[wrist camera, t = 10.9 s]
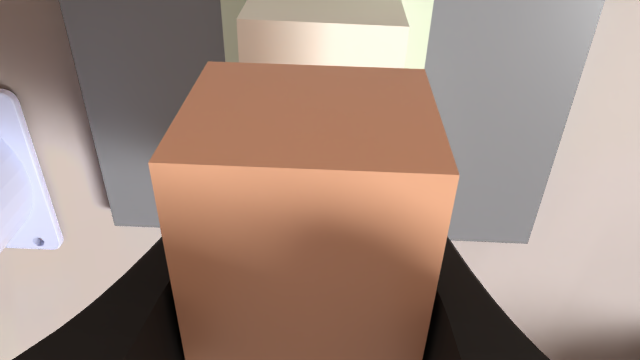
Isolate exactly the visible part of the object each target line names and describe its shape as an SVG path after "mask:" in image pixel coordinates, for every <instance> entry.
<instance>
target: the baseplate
mask: <svg viewBox="0 0 640 360" xmlns="http://www.w3.org/2000/svg"><path fill="white" fill-rule="evenodd" d="M246 1H247V0H59V3H60V7H61V11H62V15H63V19H64V23H65V27H66V31H67V35H68V39H69V43H70V47H71V51H72V55H73V59H74V64H75V68H76V72H77V76H78V80H79V84H80V88H81V92H82V96H83V100H84V104H85V108H86V112H87V116H88V120H89V124H90V128H91V132H92V136H93V140H94V144H95V148H96V152H97V156H98V160H99V164H100V168H101V172H102V176H103V180H104V184H105V188H106V192H107V196H108V200H109V204H110V208H111V212H112V217H113V221H114V225H115V226H136V227H158V228H160V223H159V218H158V213H157V207H156V202H155V197H154V191H153V186H152V181H151V175H150V170H149V165H148V162H149V160H150V159H151V157H152V155H153V154H154V152H155V150H156V149H157V147H158V145H159V143H160V142H161V140H162V138H163V137H164V135H165V133H166V132H167V130H168V128H169V126H170V125H171V123H172V121H173V120H174V118H175V116H176V115H177V113H178V111H179V110H180V108H181V106H182V104H183V103H184V101H185V99H186V98H187V96H188V94H189V93H190V91H191V89H192V87H193V86H194V84H195V82H196V81H197V79H198V77H199V76H200V74H201V72H202V70H203V69H204V67H205V65H206V64H207V62H208V61H212V62H239V56H238V38H237V20H236V19H237V17H238V15H239V13H240V12H241V10H242V8H243V6H244V5H245V3H246ZM401 1H402V5H403V8H404V11H405V14H406V17H407V20H408V23H409V35H408V43H407V51H406V58H405V66H404V68H409V69H425V71H426V74H427V77H428V81H429V84H430V87H431V90H432V93H433V96H434V99H435V102H436V105H437V108H438V111H439V114H440V117H441V120H442V123H443V126H444V129H445V132H446V135H447V138H448V141H449V144H450V147H451V150H452V153H453V156H454V159H455V163H456V166H457V169H458V172H459V175H460V176H459V181H458V186H457V191H456V196H455V201H454V206H453V210H452V215H451V220H450V225H449V230H448V235H447V236H448V237H449V239H450V240H455V241H478V242H500V243H523V244H528V241H529V238H530V234H531V231H532V228H533V225H534V222H535V219H536V216H537V212H538V209H539V206H540V203H541V200H542V197H543V194H544V190H545V187H546V184H547V181H548V178H549V175H550V172H551V168H552V165H553V162H554V159H555V156H556V153H557V150H558V147H559V143H560V140H561V137H562V134H563V131H564V128H565V125H566V121H567V118H568V115H569V112H570V109H571V106H572V103H573V99H574V96H575V93H576V90H577V87H578V84H579V81H580V77H581V74H582V71H583V68H584V65H585V62H586V59H587V55H588V52H589V49H590V46H591V43H592V40H593V37H594V34H595V30H596V27H597V24H598V21H599V18H600V15H601V12H602V8H603V5H604V2H605V0H401Z"/></svg>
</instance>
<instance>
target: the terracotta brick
mask: <svg viewBox="0 0 640 360" xmlns="http://www.w3.org/2000/svg"><path fill="white" fill-rule="evenodd" d="M148 165H149V170H150V175H151V181H152V186H153V191H154V197H155V202H156V207H157V213H158V218H159V223H160V228H161V234H162V239H163V244H164V250H165V255H166V260H167V266H168V271H169V276H170V282H171V287H172V292H173V298H174V303H175V308H176V314H177V319H178V324H179V330H180V335H181V340H182V345H183V351H184V356H185V360H422V359H423V354H424V349H425V344H426V339H427V334H428V329H429V325H430V320H431V315H432V310H433V305H434V300H435V295H436V290H437V285H438V280H439V275H440V270H441V265H442V260H443V255H444V250H445V245H446V240H447V235H448V230H449V225H450V220H451V215H452V210H453V206H454V201H455V196H456V191H457V186H458V181H459V176H460V175H459V172H458V169H457V166H456V163H455V159H454V156H453V153H452V150H451V147H450V144H449V141H448V138H447V135H446V132H445V129H444V126H443V123H442V120H441V117H440V114H439V111H438V108H437V105H436V102H435V99H434V96H433V93H432V90H431V87H430V84H429V81H428V77H427V74H426V71H425V69H409V68H381V67H353V66H325V65H296V64H268V63H240V62H212V61H208V62H207V64H206V65H205V67H204V69H203V70H202V72H201V74H200V76H199V77H198V79H197V81H196V82H195V84H194V86H193V87H192V89H191V91H190V93H189V94H188V96H187V98H186V99H185V101H184V103H183V104H182V106H181V108H180V110H179V111H178V113H177V115H176V116H175V118H174V120H173V121H172V123H171V125H170V126H169V128H168V130H167V132H166V133H165V135H164V137H163V138H162V140H161V142H160V143H159V145H158V147H157V149H156V150H155V152H154V154H153V155H152V157H151V159H150V160H149V162H148Z"/></svg>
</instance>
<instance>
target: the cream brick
mask: <svg viewBox="0 0 640 360" xmlns="http://www.w3.org/2000/svg"><path fill="white" fill-rule="evenodd" d="M236 20H237V38H238V56H239V62H240V63H268V64H296V65H325V66H353V67H381V68H404V66H405V58H406V51H407V43H408V35H409V23H408V20H407V17H406V14H405V11H404V8H403V5H402V1H401V0H247V1H246V3H245V5H244V6H243V8H242V10H241V12H240V13H239V15H238V17H237V19H236Z"/></svg>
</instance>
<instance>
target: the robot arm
mask: <svg viewBox="0 0 640 360" xmlns="http://www.w3.org/2000/svg"><path fill="white" fill-rule="evenodd" d="M39 238H41V239H42V240H41V239H39ZM62 243H63V235H62V232H61V229H60V226H59V223H58V220H57V217H56V214H55V211H54V208H53V204H52V201H51V198H50V195H49V192H48V189H47V186H46V183H45V180H44V177H43V174H42V170H41V167H40V164H39V161H38V158H37V155H36V152H35V149H34V146H33V143H32V140H31V136H30V133H29V130H28V127H27V124H26V121H25V118H24V115H23V112H22V109H21V106H20V102H19V100H18V98H17V97H16V96H15V95H14V94H13V93H12V92H10V91H9V90H5V89H0V253H1V252H2V250H3V249H4V248H27V249H49V250H54V249H58V248H59V247H60V246H61V244H62ZM12 360H185V356H184V351H183V345H182V340H181V335H180V330H179V324H178V319H177V314H176V308H175V303H174V298H173V292H172V287H171V282H170V276H169V271H168V266H167V260H166V255H165V250H164V244H163V239H162V237H161V238H160V239H159V240H158V241H157V242H156V243H155V244H154V245H153V246H152V248H151V249H150V250H149V251H148V252H147V253H146V254H145V255H144V256H142V257H141V258H140V259H139V260H138V261H137V262H136V263H135V264H134V265H133V266H132V267H131V268H130V269H129V270H128V271H127V272H126V273H125V274H124V275H123V276H122V277H121V278H120V279H118V280H117V281H116V282H115V283H114V284H113V285H112V286H111V287H110V288H108V289H107V290H106V291H105V292H104V293H103V294H102V295H101V296H100V297H98V298H97V299H96V300H95V301H94V302H92V303H91V304H90V305H89V306H88V307H86V308H85V309H84V310H83V311H81V312H80V313H79V314H78V315H76V316H75V317H74V318H72V319H71V320H70V321H68V322H67V323H66V324H64V325H63V326H62V327H60V328H59V329H57V330H56V331H55V332H53V333H52V334H50V335H49V336H47V337H46V338H44V339H43V340H41V341H40V342H38V343H37V344H35V345H34V346H32V347H31V348H29V349H28V350H26V351H25V352H23V353H22V354H20V355H19V356H17V357H16V358H14V359H12ZM422 360H550V359H549V358H548V357H547V356H545V355H544V354H543V353H542V352H541V351H540V350H539V349H538V348H537V347H536V346H535V345H534V344H533V343H532V342H531V341H530V340H529V339H528V338H527V337H526V336H525V334H524V333H523V332H522V331H521V330H520V329H519V328H518V327H517V326H516V325H515V324H514V323H513V321H512V320H511V319H510V318H509V317H508V316H507V315H506V313H505V312H504V311H503V310H502V309H501V308H500V306H499V305H498V304H497V303H496V302H495V300H494V299H493V298H492V297H491V296H490V294H489V293H488V292H487V291H486V289H485V288H484V287H483V285H482V284H481V283H480V281H479V280H478V279H477V277H476V276H475V275H474V274H473V272H472V271H471V269H470V268H469V267H468V265H467V264H466V263H465V261H464V260H463V258H462V257H461V255H460V254H459V252H458V251H457V250H456V248H455V247H454V245H453V244H452V242H451V240H450V239H449V237H448V236H447V240H446V245H445V250H444V255H443V260H442V265H441V270H440V275H439V280H438V285H437V290H436V295H435V300H434V305H433V310H432V315H431V320H430V325H429V329H428V334H427V339H426V344H425V349H424V354H423V359H422Z"/></svg>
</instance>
